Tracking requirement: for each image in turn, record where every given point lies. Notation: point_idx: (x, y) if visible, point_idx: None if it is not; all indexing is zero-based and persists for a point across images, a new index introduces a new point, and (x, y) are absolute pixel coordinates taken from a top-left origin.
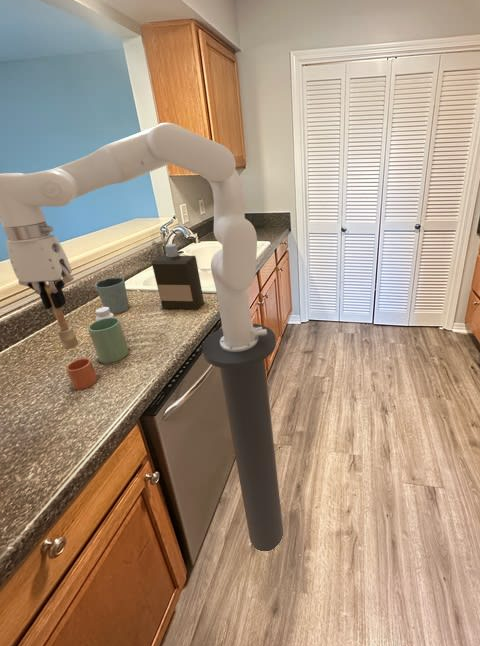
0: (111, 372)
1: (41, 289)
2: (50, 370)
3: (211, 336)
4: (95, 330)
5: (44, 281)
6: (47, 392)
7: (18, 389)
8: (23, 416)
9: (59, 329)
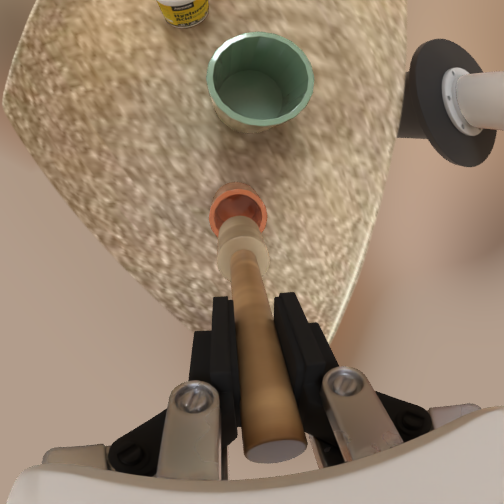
0: (279, 172)
1: (226, 447)
2: (120, 158)
3: (422, 62)
4: (254, 119)
5: (220, 463)
6: (170, 233)
7: (103, 222)
8: (177, 292)
9: (222, 263)
